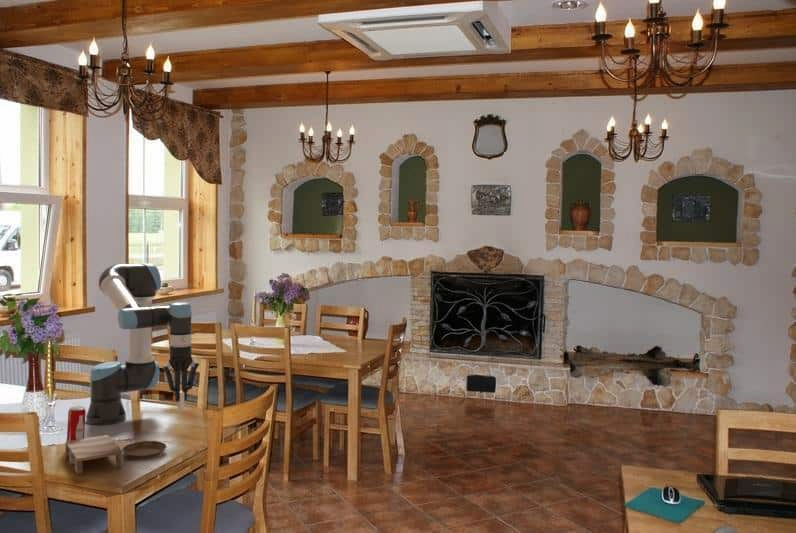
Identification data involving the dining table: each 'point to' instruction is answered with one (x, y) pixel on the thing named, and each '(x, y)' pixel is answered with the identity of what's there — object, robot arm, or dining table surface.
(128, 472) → the dining table surface
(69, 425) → the beverage can
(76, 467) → the overhang shelf
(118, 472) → the dining table surface
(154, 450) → the saucer
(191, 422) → the dining table surface
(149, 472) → the dining table surface
